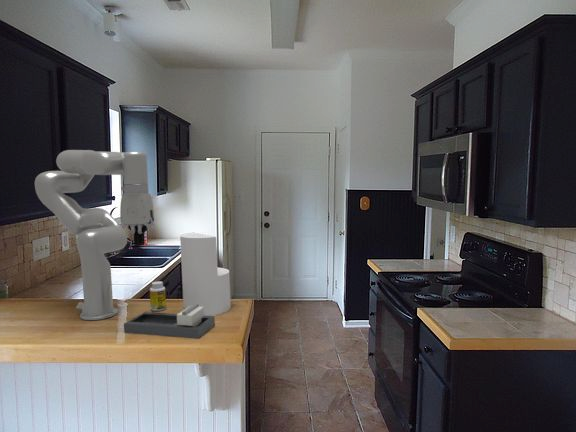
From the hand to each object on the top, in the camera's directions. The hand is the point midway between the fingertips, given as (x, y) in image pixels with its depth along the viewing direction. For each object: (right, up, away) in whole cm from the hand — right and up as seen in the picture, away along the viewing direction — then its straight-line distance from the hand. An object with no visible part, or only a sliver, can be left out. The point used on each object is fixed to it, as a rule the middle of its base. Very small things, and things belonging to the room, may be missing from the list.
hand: (139, 245), depth 142 cm
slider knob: (+18, -25, -4) cm, 31 cm away
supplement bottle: (+1, -26, +19) cm, 32 cm away
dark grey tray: (+11, -27, -2) cm, 29 cm away
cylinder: (+19, -25, +19) cm, 37 cm away
